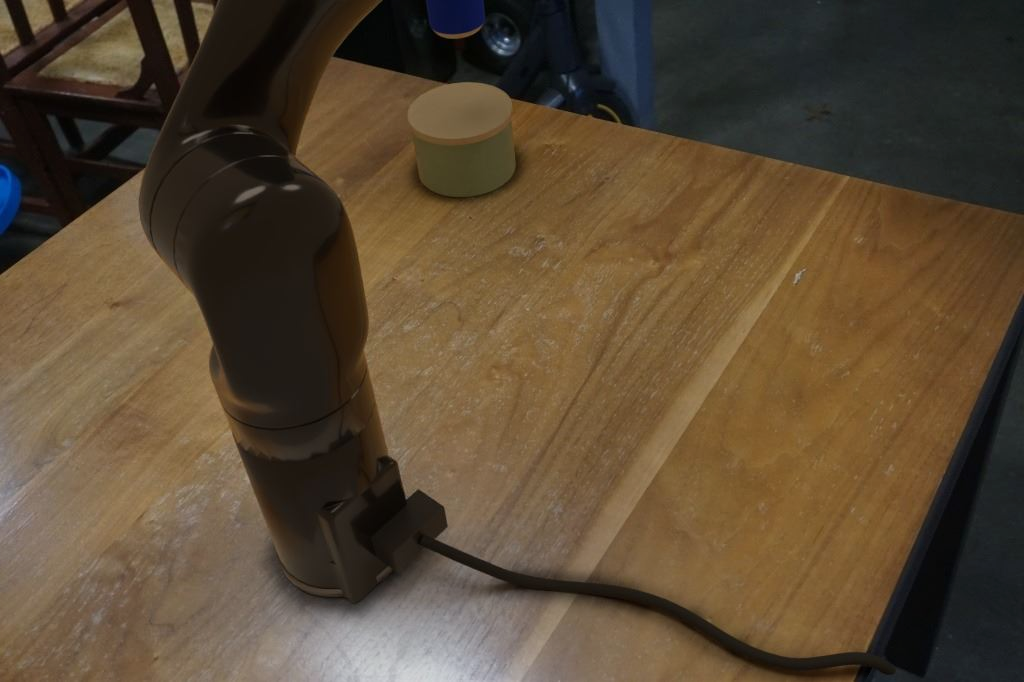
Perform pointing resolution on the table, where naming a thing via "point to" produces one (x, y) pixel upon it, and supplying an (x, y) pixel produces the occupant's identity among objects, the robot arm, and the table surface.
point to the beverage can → (455, 17)
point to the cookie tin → (463, 138)
